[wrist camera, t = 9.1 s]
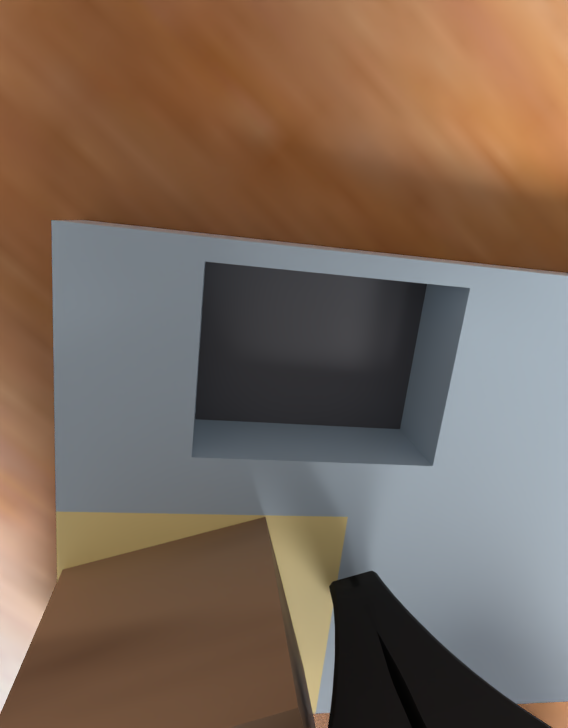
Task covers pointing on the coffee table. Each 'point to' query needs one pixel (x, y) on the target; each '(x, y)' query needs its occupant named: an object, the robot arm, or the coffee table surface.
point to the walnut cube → (167, 641)
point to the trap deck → (325, 429)
